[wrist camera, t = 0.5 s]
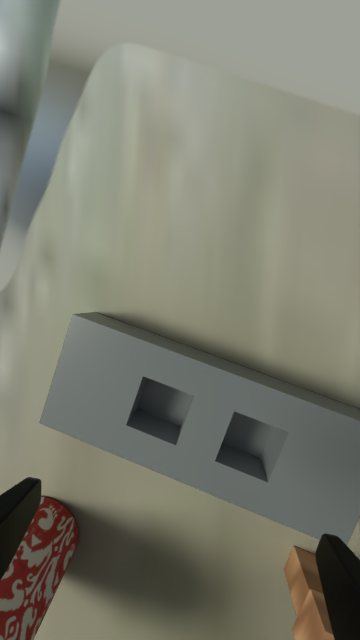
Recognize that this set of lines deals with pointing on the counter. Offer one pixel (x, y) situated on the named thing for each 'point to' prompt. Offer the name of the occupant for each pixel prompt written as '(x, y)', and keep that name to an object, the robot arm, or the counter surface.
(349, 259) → the counter surface
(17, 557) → the mug
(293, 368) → the counter surface
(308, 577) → the tan pronged block
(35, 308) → the counter surface
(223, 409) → the rail
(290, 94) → the counter surface
